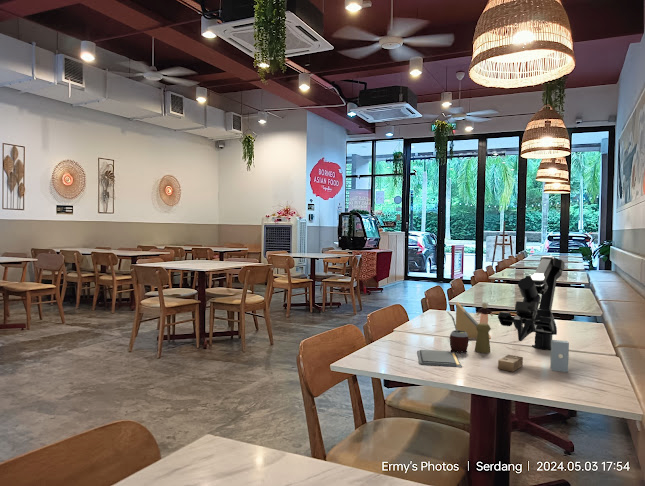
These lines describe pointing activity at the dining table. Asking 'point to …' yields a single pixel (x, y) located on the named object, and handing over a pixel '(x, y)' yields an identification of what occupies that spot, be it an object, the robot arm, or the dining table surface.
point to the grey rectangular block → (559, 355)
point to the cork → (482, 338)
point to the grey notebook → (438, 358)
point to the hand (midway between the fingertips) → (519, 340)
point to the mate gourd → (458, 340)
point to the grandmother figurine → (484, 313)
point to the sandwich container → (466, 322)
